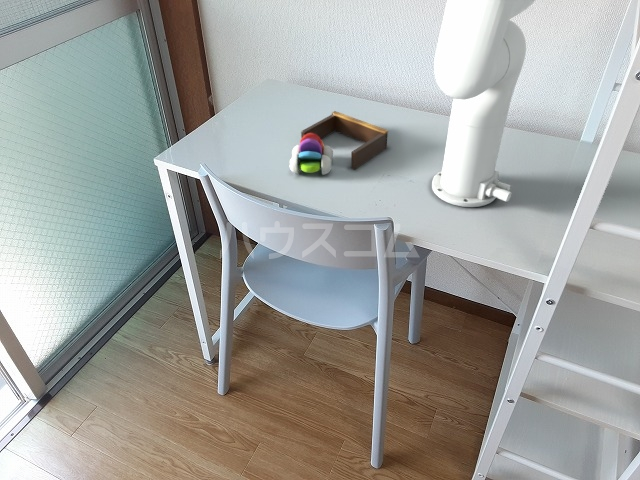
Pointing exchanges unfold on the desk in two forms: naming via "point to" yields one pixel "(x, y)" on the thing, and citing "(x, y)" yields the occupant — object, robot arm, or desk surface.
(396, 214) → the desk surface
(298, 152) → the rainbow white-wheeled buggy
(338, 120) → the garage
